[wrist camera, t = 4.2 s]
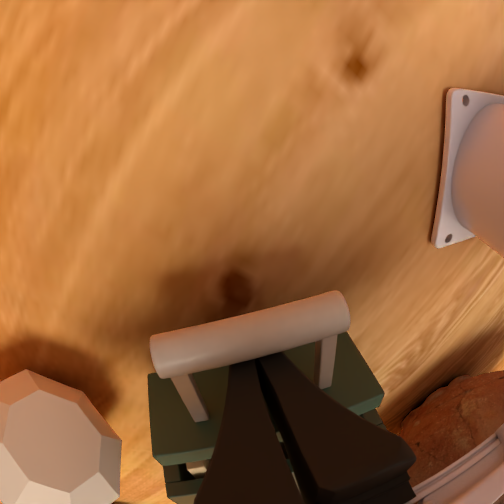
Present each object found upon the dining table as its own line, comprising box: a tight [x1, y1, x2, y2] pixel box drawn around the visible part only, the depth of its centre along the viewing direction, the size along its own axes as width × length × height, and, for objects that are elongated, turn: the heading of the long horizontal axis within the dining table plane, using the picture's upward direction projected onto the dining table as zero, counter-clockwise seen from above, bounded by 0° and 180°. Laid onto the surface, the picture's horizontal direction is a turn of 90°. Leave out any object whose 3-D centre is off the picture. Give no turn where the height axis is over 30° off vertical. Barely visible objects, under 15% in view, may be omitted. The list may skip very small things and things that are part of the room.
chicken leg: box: [0, 369, 122, 504], centre depth 13 cm, size 8×18×8 cm, turn 142°
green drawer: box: [148, 290, 384, 479], centre depth 15 cm, size 18×9×4 cm, turn 6°
